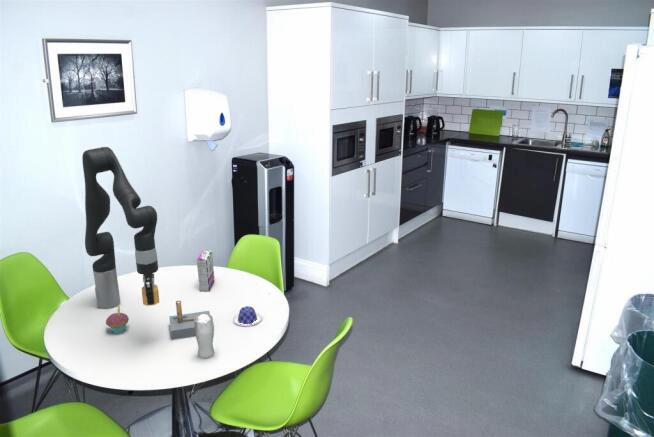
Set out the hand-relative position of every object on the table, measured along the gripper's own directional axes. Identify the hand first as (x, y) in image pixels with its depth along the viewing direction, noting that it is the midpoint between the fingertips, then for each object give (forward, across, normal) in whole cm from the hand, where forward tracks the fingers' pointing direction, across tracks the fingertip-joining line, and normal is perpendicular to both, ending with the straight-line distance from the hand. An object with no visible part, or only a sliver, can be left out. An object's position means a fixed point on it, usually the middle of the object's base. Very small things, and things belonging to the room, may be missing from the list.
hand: (151, 300), depth 198 cm
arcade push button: (+1, 0, 0) cm, 1 cm away
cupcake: (+18, -12, -14) cm, 26 cm away
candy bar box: (+18, -43, +23) cm, 52 cm away
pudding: (+18, -6, +37) cm, 41 cm away
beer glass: (+18, +15, +18) cm, 29 cm away
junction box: (+17, -5, +14) cm, 23 cm away
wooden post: (+13, -5, +10) cm, 17 cm away
